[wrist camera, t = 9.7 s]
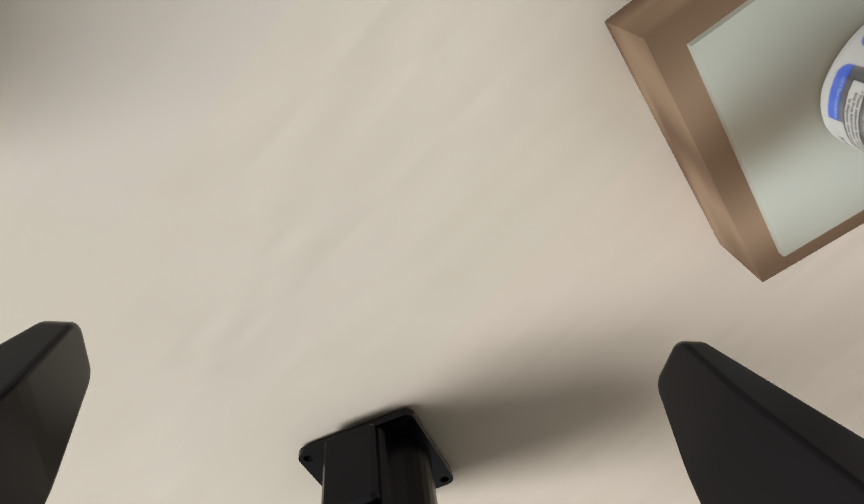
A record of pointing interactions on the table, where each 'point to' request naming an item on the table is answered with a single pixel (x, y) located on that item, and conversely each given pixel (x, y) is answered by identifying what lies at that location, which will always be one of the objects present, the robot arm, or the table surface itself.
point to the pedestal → (751, 116)
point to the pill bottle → (846, 93)
